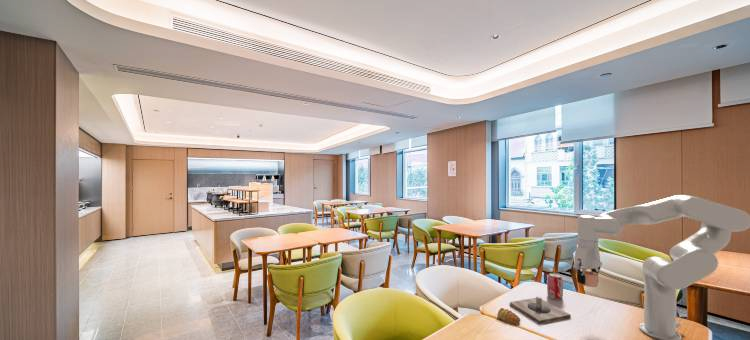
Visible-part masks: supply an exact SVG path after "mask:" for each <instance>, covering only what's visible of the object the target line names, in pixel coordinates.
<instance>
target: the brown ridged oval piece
mask: <svg viewBox="0 0 750 340" xmlns="http://www.w3.org/2000/svg"><path fill="white" fill-rule="evenodd" d="M497 317H498V318H499V319H500V320H502V321H504V322H507V323H509V324H515V325H518V324H520V323H521V318H520V317H519V316H518V315H517V314H516V313H514V312H512V310H509V309H507V308H504V307H500V308H499V310H498V311H497Z"/></svg>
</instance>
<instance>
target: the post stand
mask: <svg viewBox="0 0 750 340" xmlns="http://www.w3.org/2000/svg"><path fill="white" fill-rule="evenodd" d="M509 306H510V307H512V308H514V309H516V310H517V311H519V312H520V313H522V315H525V316H526V317H528V318H529V319H531V320H532V321H534V322H535V323H537V324H538V325H541V324H547V323H552V322H556V321H561V320H567V319H570V318H571V316H572V315H571V314H570V313H569V312H567V311H565V310H564V309H561V308H559V307H557V306H556V305H554V304H552V303H550V302H548V301H546V300H544V299H542V297H540V296H536V297H534V298H527V299H521V300H520V299H519V300H515V301H510V302H509Z"/></svg>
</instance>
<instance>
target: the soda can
mask: <svg viewBox="0 0 750 340" xmlns="http://www.w3.org/2000/svg"><path fill="white" fill-rule="evenodd" d="M546 283H547V284H546V285H547V286H546V288H547V291H546V292H547V296H548V297H549V298H550V299H553V300H561V299H563V297H564V296H563V295H564V279H563V277H562V275H561V274H559V273H555V272H550V273H548V275H547V281H546Z"/></svg>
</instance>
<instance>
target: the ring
mask: <svg viewBox="0 0 750 340" xmlns="http://www.w3.org/2000/svg"><path fill="white" fill-rule="evenodd" d="M580 271H581V272H582V269H581V270H580ZM584 276H585V284H584V285H583V284H581V283H578V284H579V285H581V286H583V287H589V288H598V286H599V285H598V283H599V273H598V274H597V273H595V272H592V271H591V270H589V269H588V270H586V271H585V273H584Z"/></svg>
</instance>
